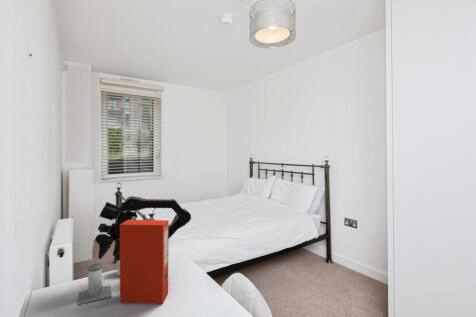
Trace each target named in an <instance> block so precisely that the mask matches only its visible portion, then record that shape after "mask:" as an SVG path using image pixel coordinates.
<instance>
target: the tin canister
mask: <svg viewBox="0 0 476 317" xmlns="http://www.w3.org/2000/svg"><path fill="white" fill-rule="evenodd" d="M102 271H103V264H102V263H100V262H99V263H98V262H97V263H92V264H89V265H88V266H87V286H88V289H87V290H88V294H89V297H97V296H99V295H101V294H102V287H103V275H102Z"/></svg>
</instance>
